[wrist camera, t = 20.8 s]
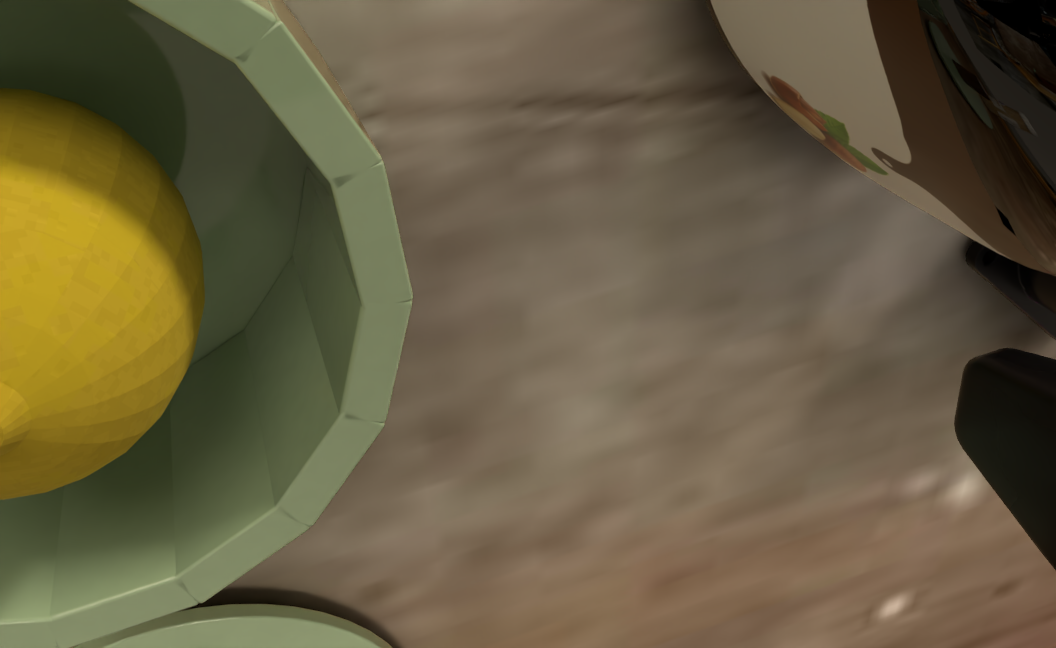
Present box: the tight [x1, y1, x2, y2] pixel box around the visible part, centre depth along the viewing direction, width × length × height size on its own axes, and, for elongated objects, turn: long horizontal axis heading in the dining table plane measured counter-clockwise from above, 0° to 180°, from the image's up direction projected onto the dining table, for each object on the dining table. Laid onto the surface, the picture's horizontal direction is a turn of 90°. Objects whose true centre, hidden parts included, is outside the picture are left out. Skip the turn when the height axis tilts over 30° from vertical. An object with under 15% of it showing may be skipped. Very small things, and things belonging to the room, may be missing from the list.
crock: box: [0, 0, 413, 648], centre depth 15 cm, size 12×12×6 cm
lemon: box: [0, 88, 205, 500], centre depth 14 cm, size 6×6×8 cm
